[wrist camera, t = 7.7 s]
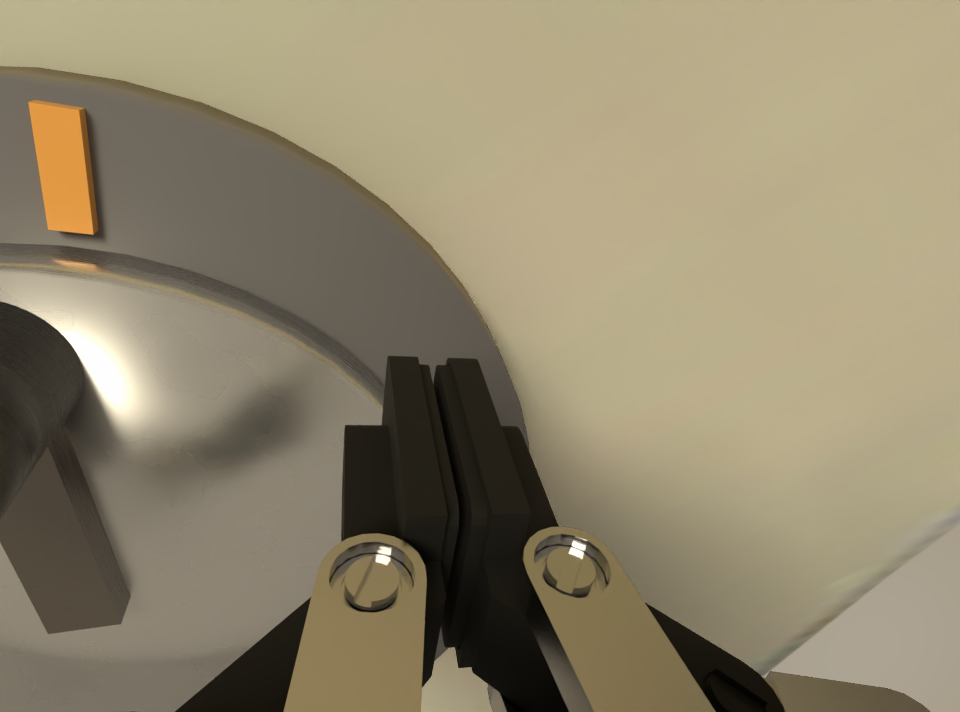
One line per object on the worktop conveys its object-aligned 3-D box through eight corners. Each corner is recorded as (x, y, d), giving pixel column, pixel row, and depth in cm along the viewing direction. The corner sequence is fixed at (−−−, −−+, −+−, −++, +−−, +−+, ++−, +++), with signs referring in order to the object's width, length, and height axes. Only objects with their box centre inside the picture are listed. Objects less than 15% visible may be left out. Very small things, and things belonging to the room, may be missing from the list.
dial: (434, 685, 23) (465, 902, 17) (-118, 782, 19) (-301, 1095, 14) (442, 234, 13) (514, 391, 8) (-618, 255, 10) (-1802, 567, 4)
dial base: (637, 252, 17) (675, 283, 15) (394, 719, 27) (399, 773, 25) (-647, -189, 9) (-919, -242, 7) (-321, 719, 19) (-396, 801, 17)
